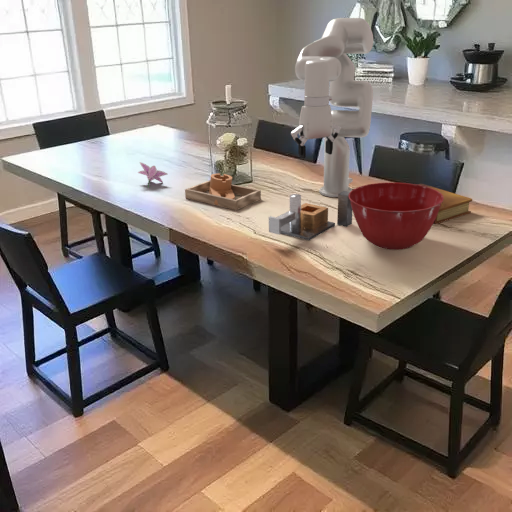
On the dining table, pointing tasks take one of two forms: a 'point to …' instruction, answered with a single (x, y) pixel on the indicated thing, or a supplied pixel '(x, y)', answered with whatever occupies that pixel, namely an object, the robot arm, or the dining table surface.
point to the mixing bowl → (395, 213)
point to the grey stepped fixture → (301, 220)
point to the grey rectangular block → (344, 209)
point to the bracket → (221, 186)
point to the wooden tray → (247, 193)
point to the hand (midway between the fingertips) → (315, 155)
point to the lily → (152, 173)
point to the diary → (451, 205)
